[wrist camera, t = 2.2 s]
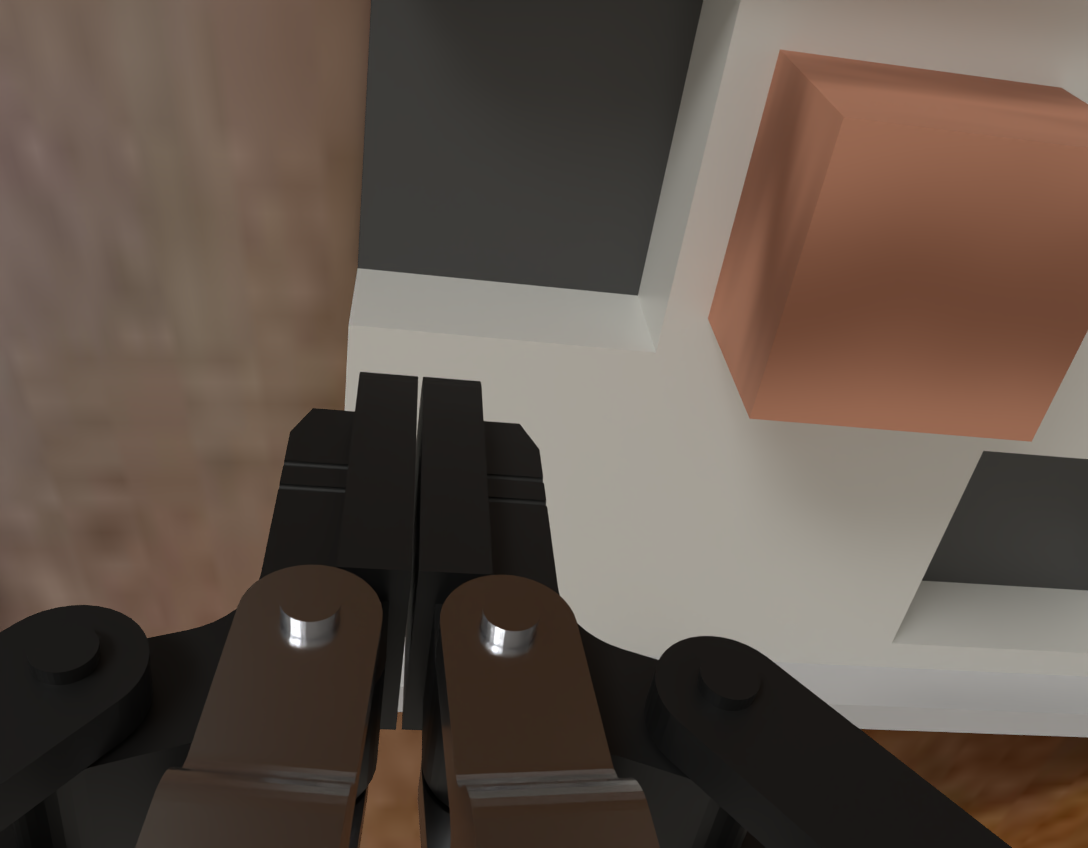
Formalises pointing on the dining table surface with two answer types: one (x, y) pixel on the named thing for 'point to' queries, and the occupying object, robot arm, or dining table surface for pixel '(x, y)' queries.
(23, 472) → the dining table surface
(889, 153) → the block
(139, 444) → the dining table surface
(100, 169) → the dining table surface
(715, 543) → the box
